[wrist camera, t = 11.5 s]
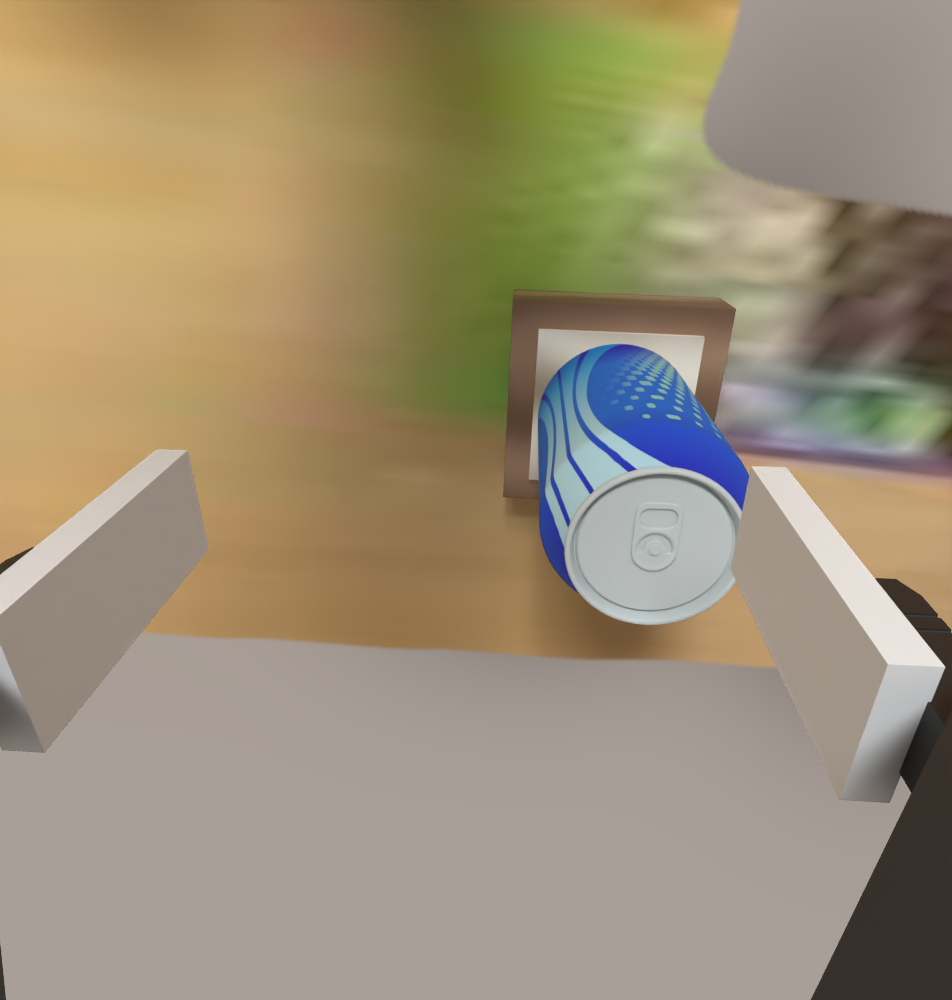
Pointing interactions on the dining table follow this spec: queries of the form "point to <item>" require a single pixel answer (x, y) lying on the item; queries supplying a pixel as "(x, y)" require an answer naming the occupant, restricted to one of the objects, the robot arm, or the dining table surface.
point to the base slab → (596, 322)
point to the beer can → (636, 487)
